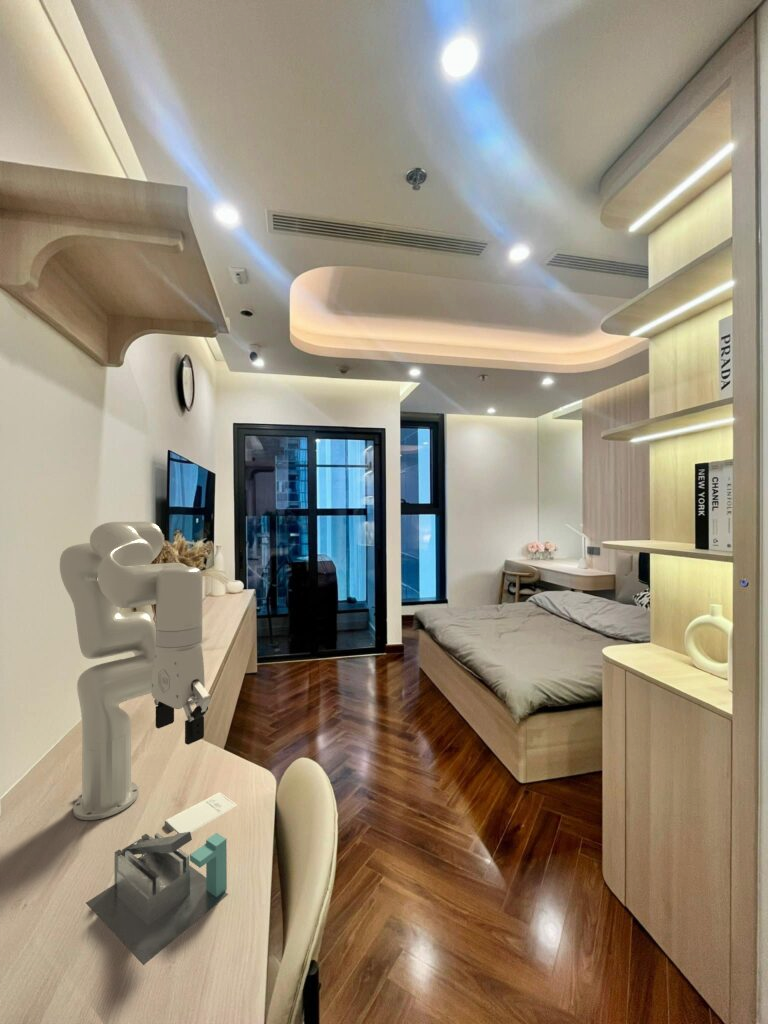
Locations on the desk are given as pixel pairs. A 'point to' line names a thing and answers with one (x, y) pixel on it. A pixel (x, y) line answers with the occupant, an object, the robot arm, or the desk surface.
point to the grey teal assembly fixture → (153, 900)
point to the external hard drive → (200, 814)
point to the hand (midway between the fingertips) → (179, 732)
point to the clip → (213, 863)
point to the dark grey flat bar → (159, 844)
